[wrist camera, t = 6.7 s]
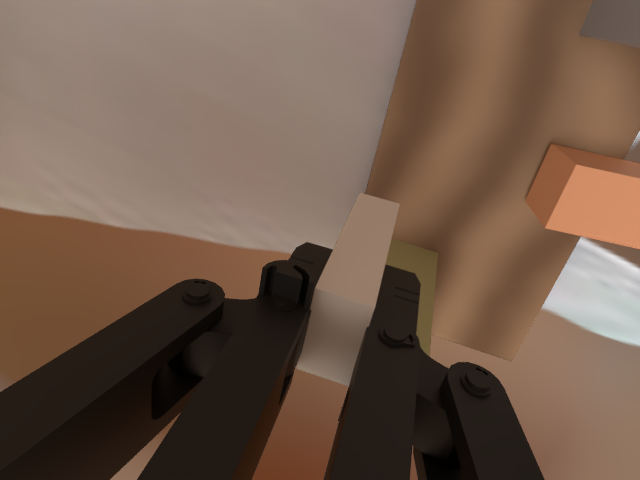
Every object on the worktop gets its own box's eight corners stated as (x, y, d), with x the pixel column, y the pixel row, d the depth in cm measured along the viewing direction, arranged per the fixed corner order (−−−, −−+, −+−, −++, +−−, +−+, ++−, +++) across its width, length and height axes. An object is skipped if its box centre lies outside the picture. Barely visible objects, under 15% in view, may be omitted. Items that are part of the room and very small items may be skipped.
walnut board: (339, 295, 40) (336, 303, 38) (459, -153, 24) (459, -161, 23) (509, 352, 37) (511, 361, 36) (757, -103, 22) (771, -109, 21)
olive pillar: (374, 279, 36) (340, 383, 26) (387, 237, 34) (356, 332, 24) (422, 294, 36) (407, 407, 26) (438, 252, 34) (429, 356, 24)
